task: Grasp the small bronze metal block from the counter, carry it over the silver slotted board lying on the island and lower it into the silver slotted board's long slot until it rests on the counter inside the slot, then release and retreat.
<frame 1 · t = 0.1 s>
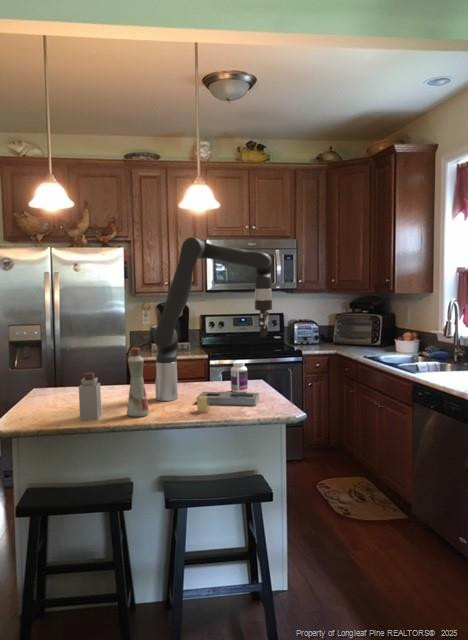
hand: (263, 336, 225), 29 cm above the worktop, fingers open, 8 cm apart
bottle: (137, 415, 207), on the worktop
pill bottle: (239, 391, 249), on the worktop
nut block: (203, 411, 211), on the worktop
silver slotted board: (228, 401, 228), on the worktop
perfume bottle: (90, 418, 204), on the worktop
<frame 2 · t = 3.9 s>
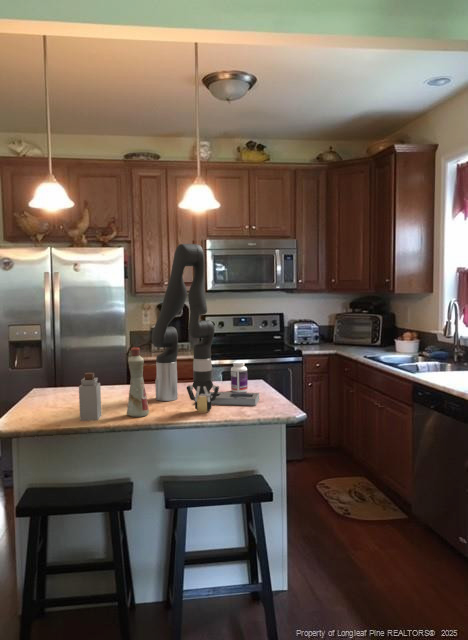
hand: (203, 410, 211), 0 cm above the worktop, fingers closed on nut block, 4 cm apart
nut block: (203, 411, 211), on the worktop, touching gripper
everything else where it was.
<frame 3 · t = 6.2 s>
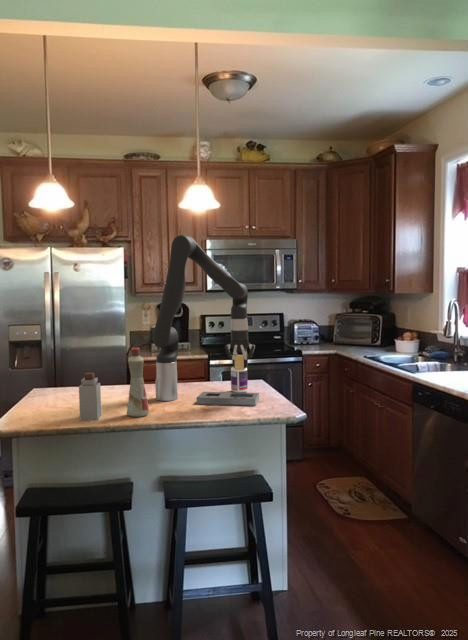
hand: (240, 367, 224), 16 cm above the worktop, fingers closed on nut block, 4 cm apart
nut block: (240, 369, 224), point 15 cm above the worktop, touching gripper
everything else where it was.
when the fingers open (2 cm above the worktop, at t = 8.4 s): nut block drops 2 cm, resting in silver slotted board.
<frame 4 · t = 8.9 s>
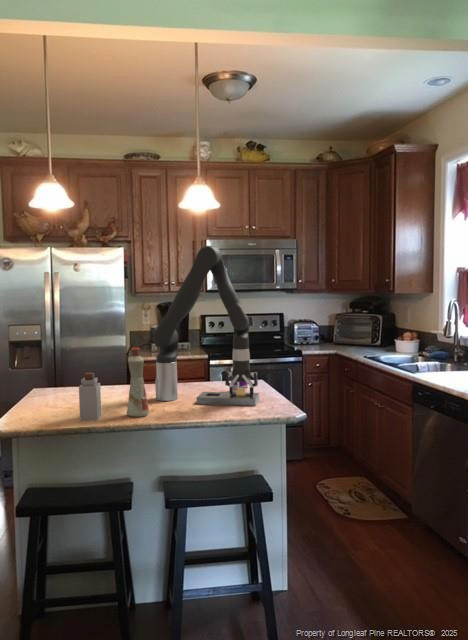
hand: (241, 395, 226), 3 cm above the worktop, fingers open, 8 cm apart
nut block: (241, 402, 227), resting in silver slotted board
everything else where it was.
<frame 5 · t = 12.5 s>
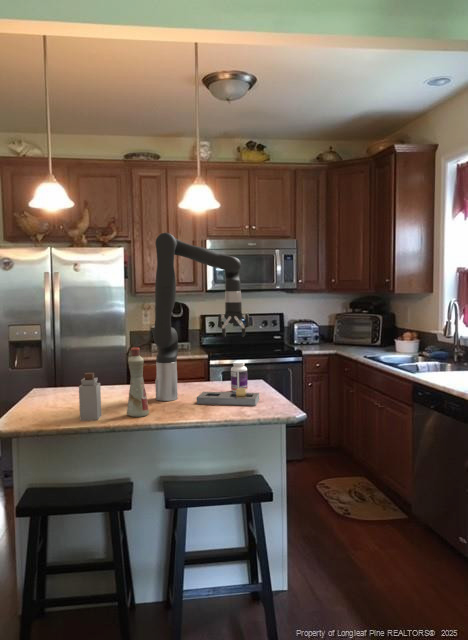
hand: (233, 336, 235), 28 cm above the worktop, fingers open, 8 cm apart
nothing on the worktop moved.
at the end: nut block inside the target area on the silver slotted board (0.1 cm from its centre), point 0.0 cm above the silver slotted board's base; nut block tilted 0°; the gripper is holding nothing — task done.
